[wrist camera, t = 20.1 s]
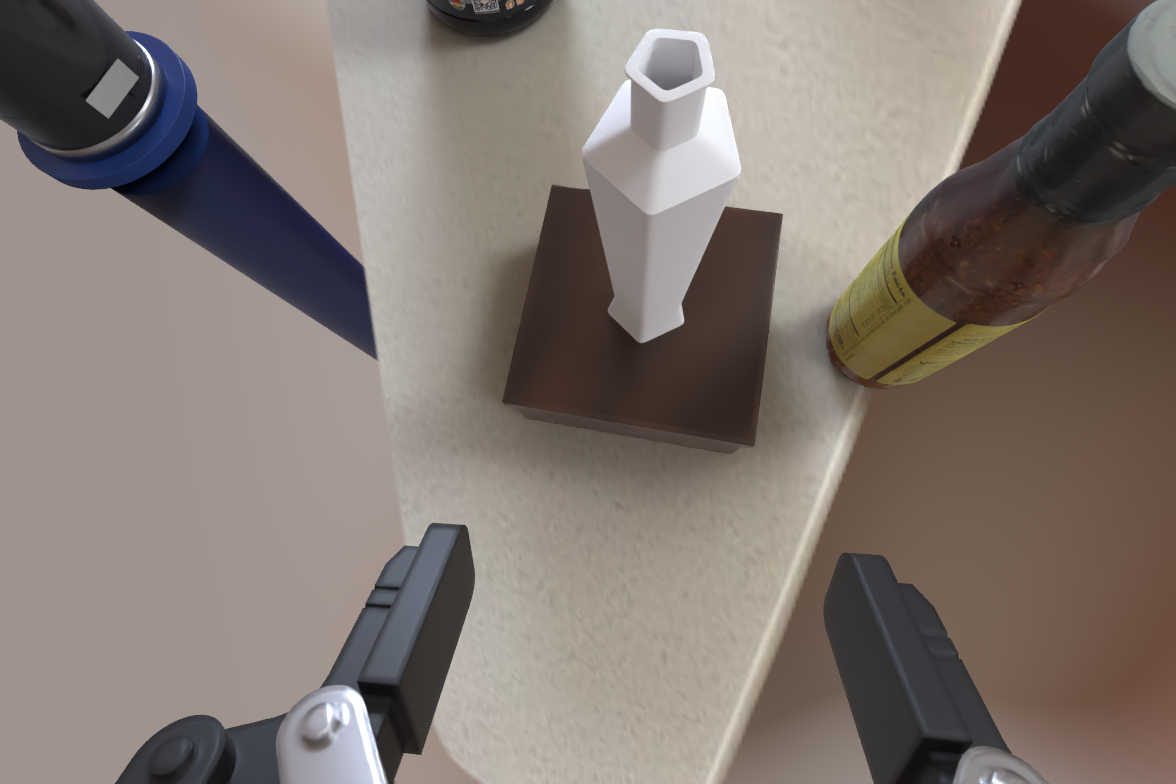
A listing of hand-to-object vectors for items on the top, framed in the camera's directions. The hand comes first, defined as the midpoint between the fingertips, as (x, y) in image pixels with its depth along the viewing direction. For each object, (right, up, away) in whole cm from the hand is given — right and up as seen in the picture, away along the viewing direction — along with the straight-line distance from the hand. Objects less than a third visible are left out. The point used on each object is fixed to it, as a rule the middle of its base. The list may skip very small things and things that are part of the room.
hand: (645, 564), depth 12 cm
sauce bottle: (+15, +7, +20) cm, 26 cm away
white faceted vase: (+2, +8, +16) cm, 18 cm away
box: (+2, +7, +21) cm, 22 cm away
